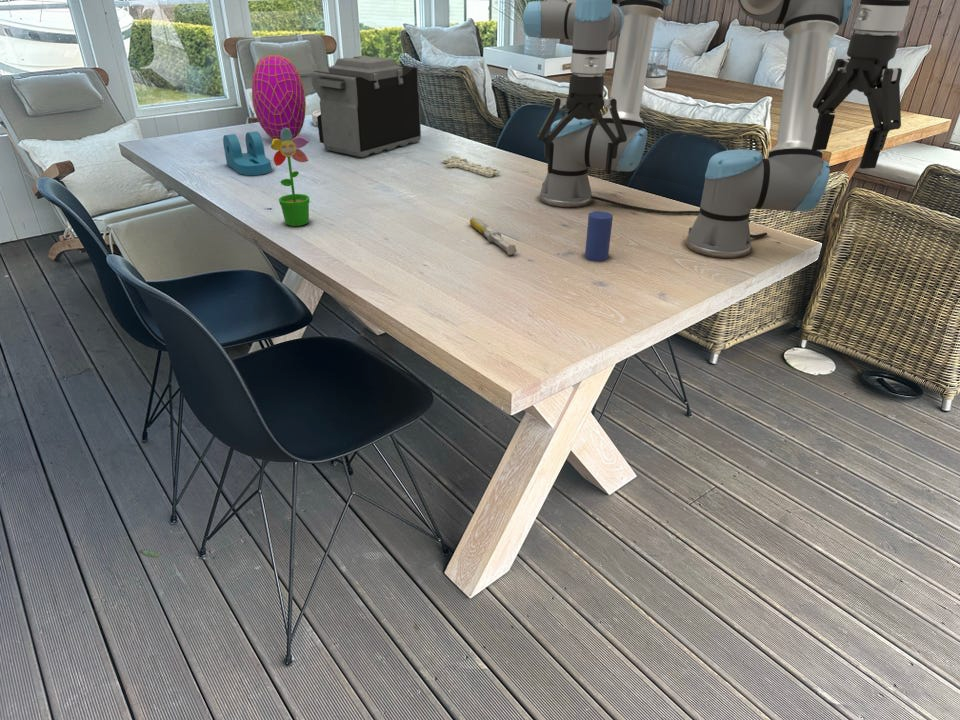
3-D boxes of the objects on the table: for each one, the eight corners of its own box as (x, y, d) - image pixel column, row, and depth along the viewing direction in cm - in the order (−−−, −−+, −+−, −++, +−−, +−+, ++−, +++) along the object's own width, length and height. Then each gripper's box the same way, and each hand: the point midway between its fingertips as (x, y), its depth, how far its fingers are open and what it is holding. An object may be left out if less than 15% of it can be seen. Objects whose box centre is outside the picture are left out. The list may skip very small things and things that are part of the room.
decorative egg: (293, 132, 276) (283, 50, 261) (319, 140, 264) (310, 56, 249) (249, 139, 265) (236, 54, 250) (273, 148, 253) (261, 60, 238)
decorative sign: (432, 159, 238) (454, 155, 243) (432, 162, 238) (454, 157, 244) (482, 176, 221) (505, 170, 226) (482, 179, 221) (505, 173, 227)
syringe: (466, 223, 184) (466, 213, 183) (479, 221, 185) (479, 212, 184) (502, 257, 164) (503, 246, 163) (517, 255, 165) (517, 244, 164)
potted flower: (284, 229, 179) (270, 130, 166) (277, 220, 185) (263, 124, 172) (319, 224, 183) (308, 127, 170) (311, 215, 188) (300, 121, 176)
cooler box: (383, 133, 276) (378, 52, 261) (425, 141, 265) (422, 56, 250) (314, 150, 251) (304, 61, 235) (358, 160, 240) (350, 67, 224)
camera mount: (227, 164, 233) (221, 132, 227) (257, 160, 238) (252, 129, 233) (244, 176, 220) (239, 143, 215) (276, 172, 225) (271, 139, 220)
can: (603, 252, 168) (608, 210, 163) (611, 260, 163) (616, 218, 158) (581, 253, 167) (585, 211, 162) (588, 262, 162) (593, 219, 157)
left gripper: (532, 75, 146) (526, 175, 156) (648, 77, 147) (635, 177, 157) (528, 71, 152) (524, 167, 163) (640, 73, 153) (628, 168, 164)
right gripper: (811, 26, 127) (784, 143, 138) (912, 41, 106) (871, 177, 117) (846, 26, 129) (817, 142, 139) (953, 40, 108) (908, 175, 118)
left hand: (578, 172), depth 160 cm, fingers open, 13 cm apart
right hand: (841, 158), depth 128 cm, fingers open, 13 cm apart
